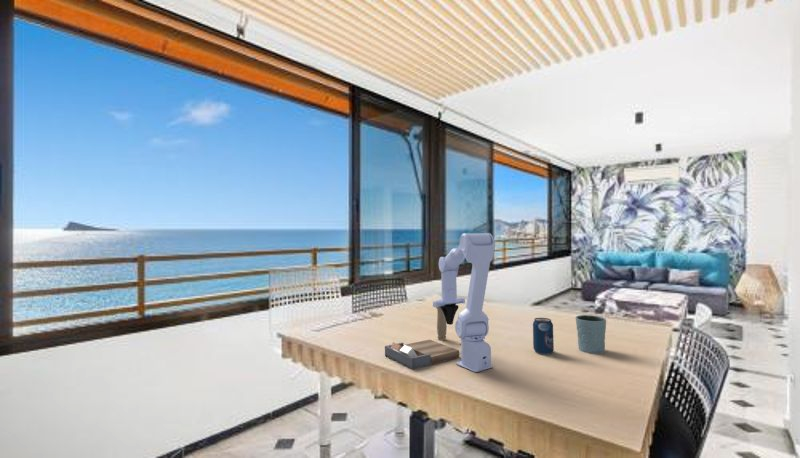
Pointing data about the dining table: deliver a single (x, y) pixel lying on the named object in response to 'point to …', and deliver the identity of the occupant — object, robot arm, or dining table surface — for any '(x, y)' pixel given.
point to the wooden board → (434, 350)
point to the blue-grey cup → (591, 333)
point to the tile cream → (408, 351)
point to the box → (407, 358)
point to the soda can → (543, 336)
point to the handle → (441, 324)
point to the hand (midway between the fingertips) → (449, 324)
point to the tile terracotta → (396, 346)
